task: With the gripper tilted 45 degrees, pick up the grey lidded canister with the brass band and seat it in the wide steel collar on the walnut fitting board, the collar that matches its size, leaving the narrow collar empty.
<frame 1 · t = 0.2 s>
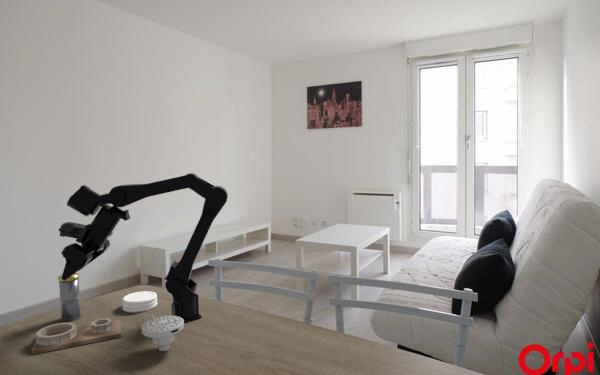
hand: (70, 274, 106), 14 cm above the table, tool tilted 35°, fingers open, 9 cm apart
fitting board: (80, 337, 100), on the table
grey lidded canister: (71, 318, 113), on the table
white plate stack: (140, 307, 121), on the table
showerhead: (163, 349, 93), on the table
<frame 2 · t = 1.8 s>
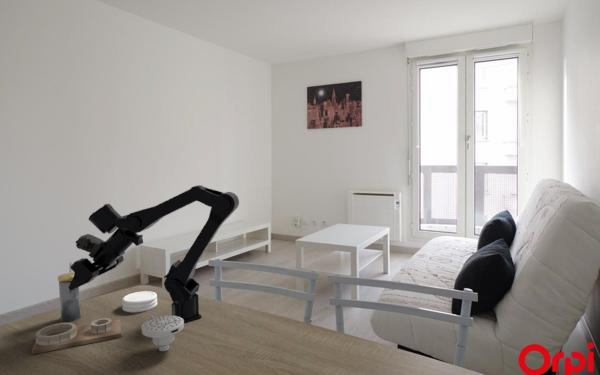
hand: (79, 283, 112), 10 cm above the table, tool tilted 45°, fingers open, 9 cm apart
nothing on the table moved.
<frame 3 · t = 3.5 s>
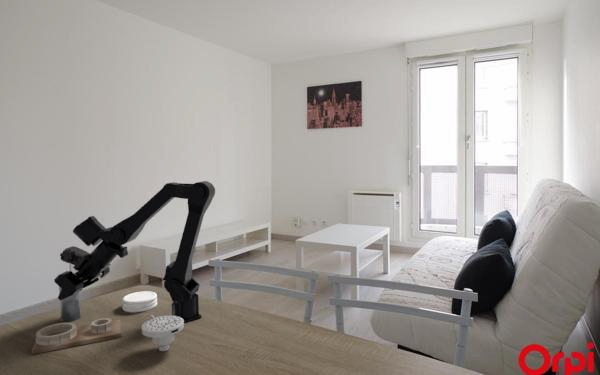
hand: (64, 295, 112), 7 cm above the table, tool tilted 45°, fingers closed on grey lidded canister, 5 cm apart
grey lidded canister: (71, 318, 113), on the table, touching gripper
everything else where it was.
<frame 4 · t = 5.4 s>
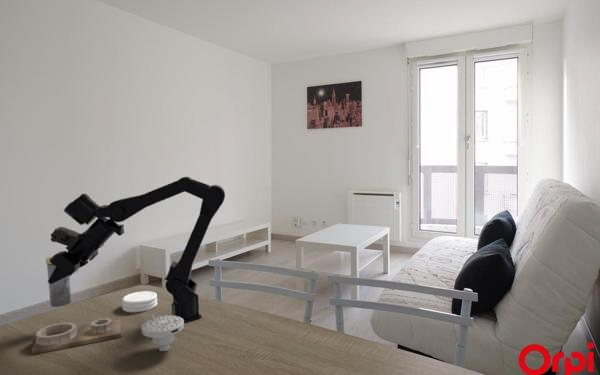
hand: (53, 279, 105), 13 cm above the table, tool tilted 45°, fingers closed on grey lidded canister, 5 cm apart
grey lidded canister: (60, 303, 106), point 7 cm above the table, touching gripper
everything else where it was.
when the fingers open (8 cm above the table, at t = 7.6 s): grey lidded canister stays where it is, resting on fitting board.
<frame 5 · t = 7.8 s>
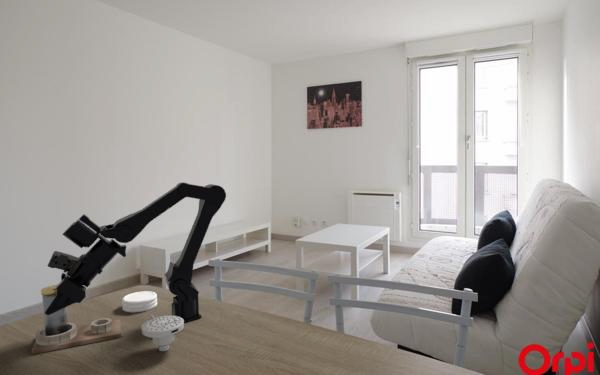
hand: (48, 309, 97), 9 cm above the table, tool tilted 45°, fingers open, 7 cm apart
grey lidded canister: (57, 337, 98), point 1 cm above the table, touching fitting board
everything else where it was.
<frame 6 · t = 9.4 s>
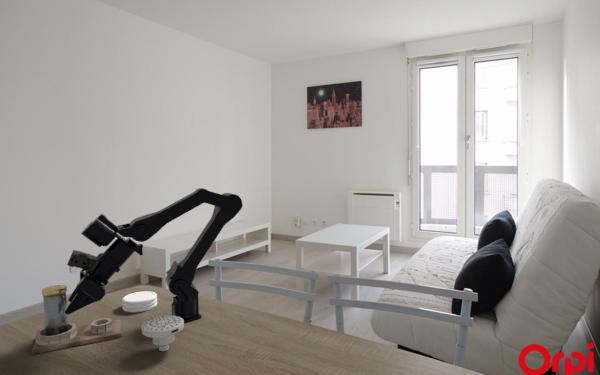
hand: (68, 307, 99), 8 cm above the table, tool tilted 45°, fingers open, 9 cm apart
nothing on the table moved.
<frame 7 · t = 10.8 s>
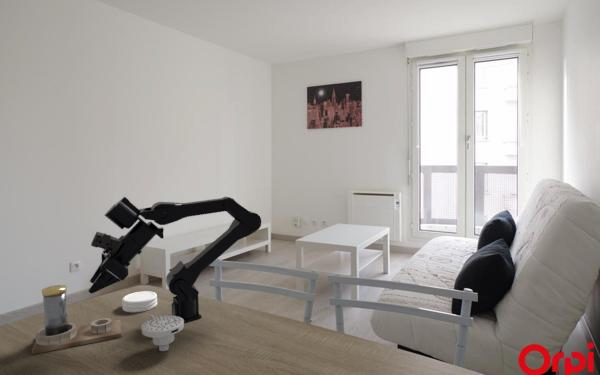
hand: (90, 287, 101), 13 cm above the table, tool tilted 45°, fingers open, 9 cm apart
nothing on the table moved.
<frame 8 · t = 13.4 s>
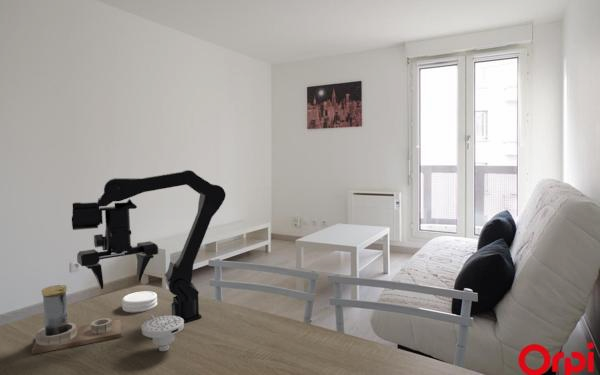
hand: (120, 285, 104), 12 cm above the table, tool pointing down, fingers open, 9 cm apart
nothing on the table moved.
at the end: grey lidded canister 0.1 cm from the target spot, point 1.0 cm above the table; grey lidded canister tilted 0°; the gripper is holding nothing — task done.
